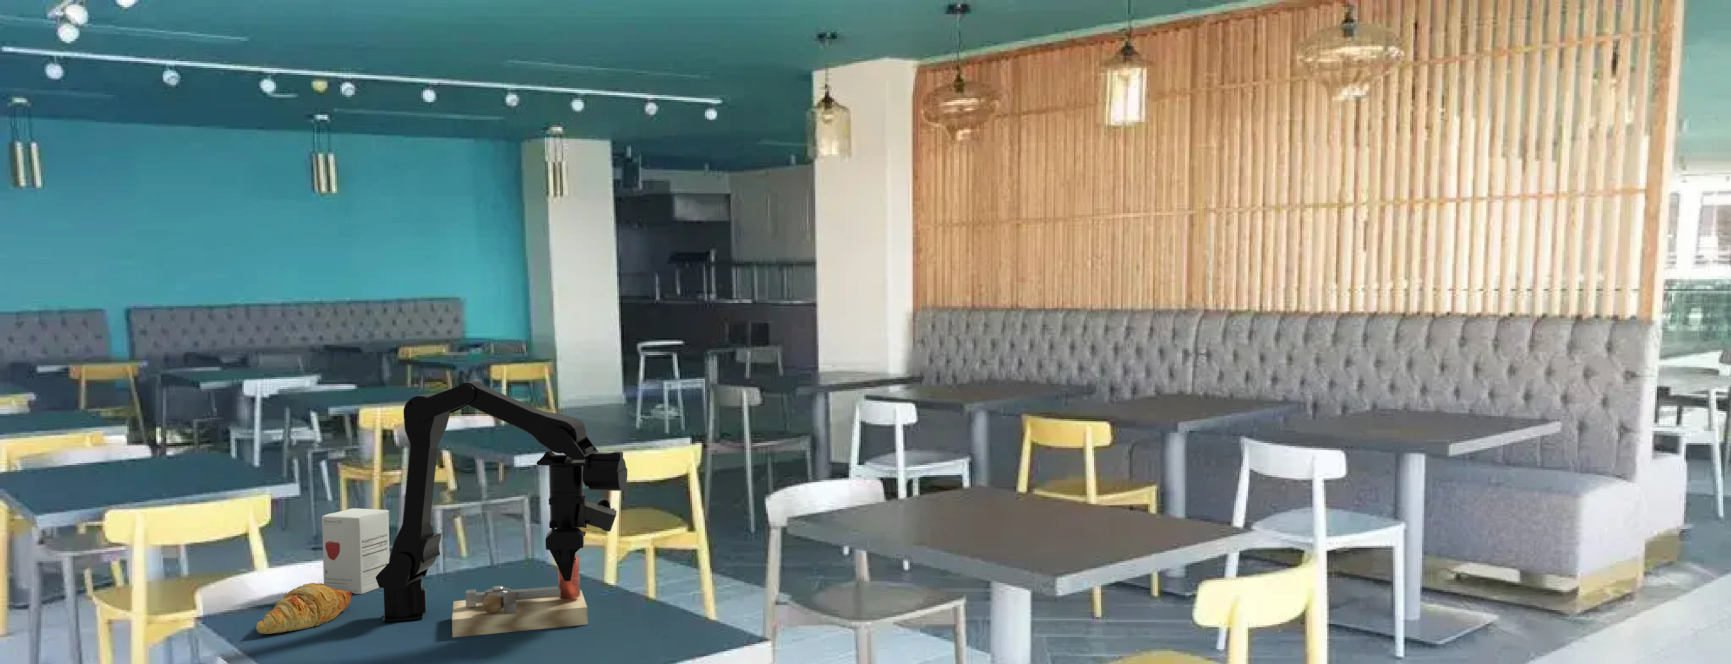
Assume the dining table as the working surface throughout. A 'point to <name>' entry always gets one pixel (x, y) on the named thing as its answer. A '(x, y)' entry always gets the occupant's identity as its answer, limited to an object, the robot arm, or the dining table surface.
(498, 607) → the walnut
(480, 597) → the lever
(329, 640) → the dining table surface
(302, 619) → the croissant
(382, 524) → the supplement box
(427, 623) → the dining table surface
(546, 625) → the block
